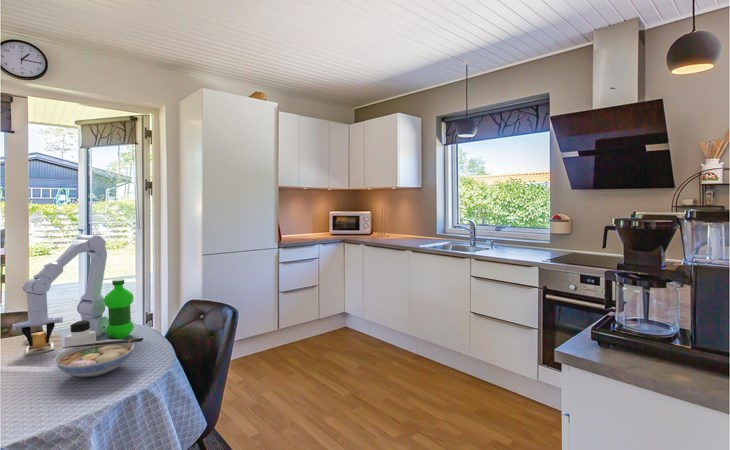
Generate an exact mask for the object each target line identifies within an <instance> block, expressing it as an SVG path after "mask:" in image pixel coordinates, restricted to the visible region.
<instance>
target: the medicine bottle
mask: <svg viewBox="0 0 730 450" xmlns="http://www.w3.org/2000/svg"><path fill="white" fill-rule="evenodd" d="M69 327H70V329H69V330H70V334H68V335H66V336H64V347H68V346H76V345H83V344H87V343H91V342H97V336H96V331H90V322H89V321H87V320H80V319H79V320H77V321H73V322H72V323H70V325H69ZM70 348H73V347H70ZM70 348H64V351H65V350H68V349H70Z"/></svg>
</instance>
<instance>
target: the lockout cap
mask: <svg viewBox="0 0 730 450" xmlns="http://www.w3.org/2000/svg"><path fill="white" fill-rule="evenodd" d="M31 334H32V335H31V338H32V348H33V349H38V348H43V347H46V346H47V331H39V332H35V333H34V334H33V333H31Z"/></svg>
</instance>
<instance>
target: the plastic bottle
mask: <svg viewBox="0 0 730 450" xmlns="http://www.w3.org/2000/svg"><path fill="white" fill-rule="evenodd" d="M111 284H112V286H113V288H112V290H110V291H109V292H108V293H107V294H106V295H105V296H104V304H105V307H107V311H108V312H107V313H108V319H109V325H108V327H107V329H106V331H107V332H106V334H107V335H108V336H109V337H110V338H112V340H124V339H125V338H128V337H129V335H130V334H131V333H132V332H133V331H134V324H133V322H132V316H131V312H132V311H131V305H132V304H133V302H134V294H133V292H131V291H130V290H128V289H126V288H124V284H125V279H124V278H118V279H113V280H112V283H111Z"/></svg>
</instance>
